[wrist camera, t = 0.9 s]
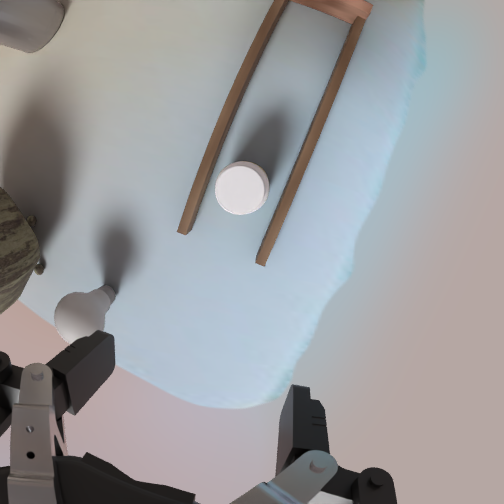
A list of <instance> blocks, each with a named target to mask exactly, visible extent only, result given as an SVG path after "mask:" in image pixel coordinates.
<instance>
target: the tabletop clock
mask: <svg viewBox="0 0 504 504" xmlns="http://www.w3.org/2000/svg"><path fill="white" fill-rule="evenodd" d="M35 223H36V218H35V217H34V216H33V215H31V216H28V218H27V220H25V218H24V216H23V215H22V213H21V212H20V211H19V209H18V208H17V206H16V205H15V204H14V202H13V201H12V199H11V198H10V196H9V195H8V194H7V193H6V192H5V191H4V190H3V189H2V188H1V187H0V314H2V313H3V312H4V311H5V310H6V309H8V308H9V307H10V306H11V305H12V304H13V303H14V302H15V301H16V300H17V299H18V298H19V297H20V296H21V294H22V292H23V290H24V287H25V285H26V283H27V281H28V280H29V278H30V276H31V274H32V272H33V270H34V271H35V273H36V274H37V275H41V274H42V273H43V272H44V268H43V266H42V265H41V264H37V262H38V261H39V259H40V249H39V244H38V240H37V238H36V236H35V234H34V232H33V231H32V229H31V227H33V226H34V225H35ZM36 264H37V265H36Z"/></svg>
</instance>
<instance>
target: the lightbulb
mask: <svg viewBox="0 0 504 504" xmlns="http://www.w3.org/2000/svg"><path fill="white" fill-rule="evenodd" d="M115 297H116V296H115V292H114V290H113V289H112V288H111V287H110V286H107V285H104V286H101V287H100V288H98V289H95V290H93V291H91V292H89V293H83V292H74V293H70V294H67V295H66V296H64V297H63V298H62V299H61V300H60V302H59V303H58V305H57V307H56V309H55V315H54V321H55V326H56V329H57V331H58V333H59V334H60V336H61V337H62V338H63V339H64V340H65V341H66V342H68V343H69V344H71V343H73V342H74V341H75V340H76V339H79V338H82V337H85V336H88V337H89V336H90V335H91V334H93V333H94V332H95V331H96V330H101V331H103V330H104V325H105V314H106V312H107V311H108V310H109V308H110V305H111V304H112V303H113V301H114V300H115Z"/></svg>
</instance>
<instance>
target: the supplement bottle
mask: <svg viewBox="0 0 504 504" xmlns="http://www.w3.org/2000/svg"><path fill="white" fill-rule="evenodd" d="M215 194H216V198H217V201H218V202H219V204H220V205H221V207H222V208H223V209H225V210H226V211H228V212H230V213H232V214H237V215H243V214H249V213H252V212H254V211H256V210H258V209H259V208H260V207H261V206H262V205H263V204H264V203H265V201H266V200H267V197H268V194H269V180H268V177H267V174H266V173H265V171H264V170H263V169H262V168H261V167H260V166H258V165H257V164H255V163H252V162H247V161H238V162H235V163H232V164H230V165H228V166H226V167H225V168H224V169H223V170H222V171H221V172H220V173H219V175H218V177H217V179H216V183H215Z"/></svg>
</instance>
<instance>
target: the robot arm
mask: <svg viewBox="0 0 504 504" xmlns="http://www.w3.org/2000/svg"><path fill="white" fill-rule="evenodd" d="M63 16H64V7H63V5H62V4H61V3H59V2H57V1H56V0H0V45H4V46H7V47H10V48H14V49H17V50H20V51H23V52H26V53H33V52H35V51H37V50H39V49H41V48H42V47H43V46H44V45H46V44H47V43H48V42H49V40H50V39H51V38H52V37H53V36H54V34H55V33H56V31H57V30H58V28H59V26H60V24H61V22H62V19H63ZM114 367H115V345H114V336H113V335H111V334H109V333H106V332H103V331H101V330H96V331H95V332H94V333H93V334H91V335H90V336H89V337H88V336H85V337H82V338H79V339H76V340H75V341H74V342H73V343H71V344H70V346H68V347H66V348H65V350H63V351H61V352H60V353H59V354H58V355H56V356H55V357H54V358H53V359H52V360H50V361H49V362H48V363H47V364H45V365H44V364H41V363H33V364H30V365H28V366H26V367H25V368H21V367H18V366H15V365H11V362H10V358H9V356H8V355H7V354H6V353H4V352H1V351H0V437H1V435H2V434H3V433H4V432H5V431H6V430H7V429H8V428H9V426H10V425H11V441H10V466H6V467H0V504H199V503H198V502H195V494H193V493H189V492H186V491H182V490H179V489H176V488H173V487H169V486H166V485H159V484H152V483H146V482H140V481H135V480H133V479H132V478H130V477H129V476H127V475H126V474H124V473H123V472H121V471H120V470H119V469H117V468H116V467H115V466H113V465H112V464H110V463H108V462H106V461H104V460H102V459H100V458H97V457H96V456H94V455H91V454H90V453H88V452H86V454H85V455H84V456H83V458H81V457H76V456H69V455H68V450H67V444H66V435H65V426H64V417H63V414H64V413H65V412H66V411H67V412H69V413H71V414H73V415H76V414H77V413H78V412H79V410H80V409H81V408H82V407H83V406H84V405H85V404H86V402H87V401H88V400H89V398H91V397H92V396H93V394H94V393H95V392H96V391H97V390H98V388H100V386H101V385H102V384H103V383H104V382H105V381H106V380H107V379H108V377H109V376H110V375H111V374H112V372H113V370H114ZM325 418H326V416H325V409H324V407H323V406H322V404H321V403H320V401H319V400H312V399H310V388H309V387H304V386H299V385H291V387H290V390H289V393H288V396H287V398H286V401H285V404H284V406H283V409H282V412H281V416H280V422H279V437H278V451H277V463H276V475H275V478H273V479H272V480H271V481H269V482H268V483H265V482H262V483H260V484H258V485H257V486H255V487H254V488H253V489H251V490H250V491H248V492H247V493H245V494H244V495H242V496H241V497H239V498H237V499H236V500H234V501H233V502H232V503H230V504H397V500H396V494H395V488H394V482H393V479H392V477H391V476H390V474H389V473H388V472H386V471H385V470H383V469H380V468H375V467H374V468H367V469H365V470H363V471H362V472H361V473H357V472H353V471H350V470H346V469H344V468H342V467H340V466H338V464H337V462H336V460H335V458H334V457H333V456H331V455H330V451H329V442H328V433H327V427H326V420H325Z"/></svg>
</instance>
